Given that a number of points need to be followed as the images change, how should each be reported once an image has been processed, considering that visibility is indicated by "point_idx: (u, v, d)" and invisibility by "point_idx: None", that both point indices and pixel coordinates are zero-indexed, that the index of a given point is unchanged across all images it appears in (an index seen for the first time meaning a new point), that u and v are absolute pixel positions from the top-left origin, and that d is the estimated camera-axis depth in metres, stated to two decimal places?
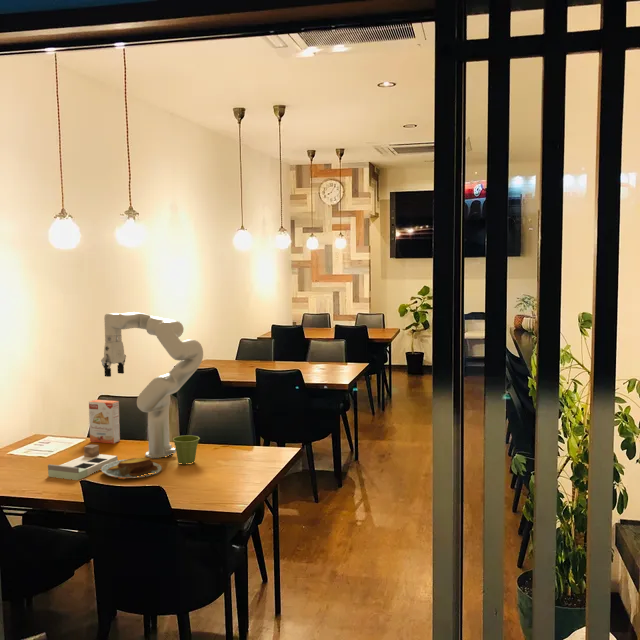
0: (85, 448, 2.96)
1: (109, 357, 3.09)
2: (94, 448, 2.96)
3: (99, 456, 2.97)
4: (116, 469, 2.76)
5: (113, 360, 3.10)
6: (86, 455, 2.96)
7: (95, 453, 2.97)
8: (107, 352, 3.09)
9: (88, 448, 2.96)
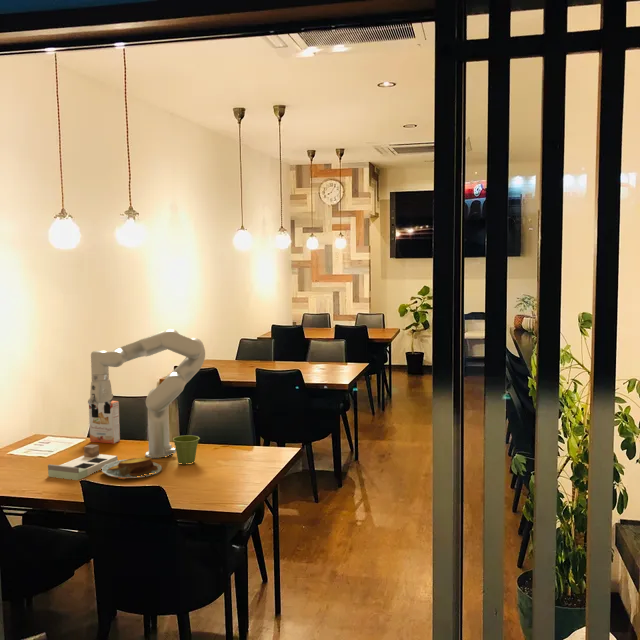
0: (85, 448, 2.96)
1: (95, 398, 2.98)
2: (94, 448, 2.96)
3: (99, 456, 2.97)
4: (116, 469, 2.76)
5: (100, 400, 2.99)
6: (86, 455, 2.96)
7: (95, 453, 2.97)
8: (93, 391, 2.98)
9: (88, 448, 2.96)
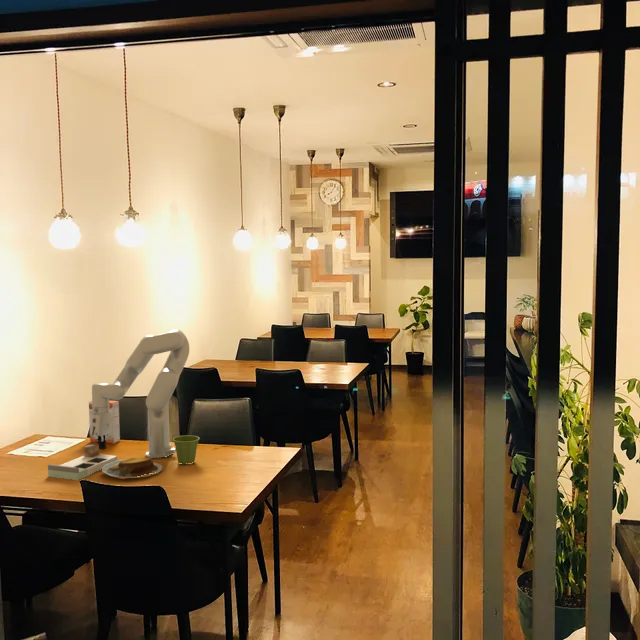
0: (85, 448, 2.96)
1: (98, 434, 3.00)
2: (94, 448, 2.96)
3: (99, 456, 2.97)
4: (116, 469, 2.76)
5: (101, 432, 3.00)
6: (86, 455, 2.96)
7: (95, 453, 2.97)
8: (94, 424, 2.99)
9: (88, 448, 2.96)
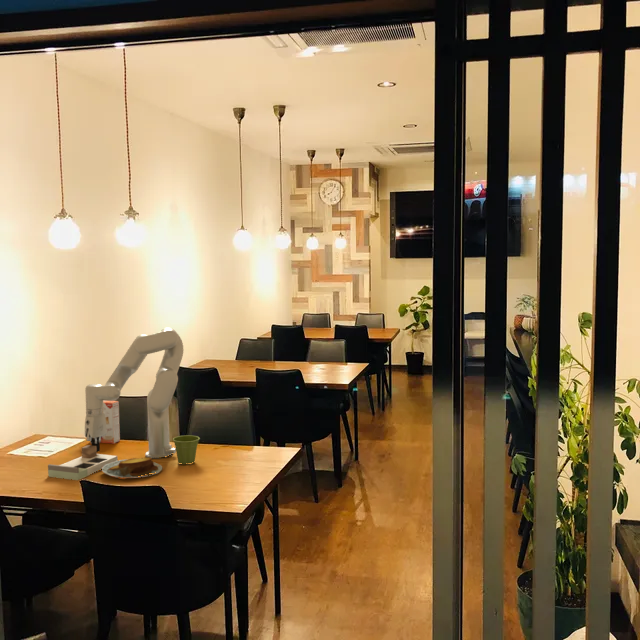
0: (83, 449, 2.95)
1: (91, 436, 2.96)
2: (92, 449, 2.95)
3: (99, 456, 2.97)
4: (116, 469, 2.76)
5: (94, 434, 2.96)
6: (83, 456, 2.95)
7: (93, 454, 2.96)
8: (88, 426, 2.95)
9: (86, 449, 2.94)
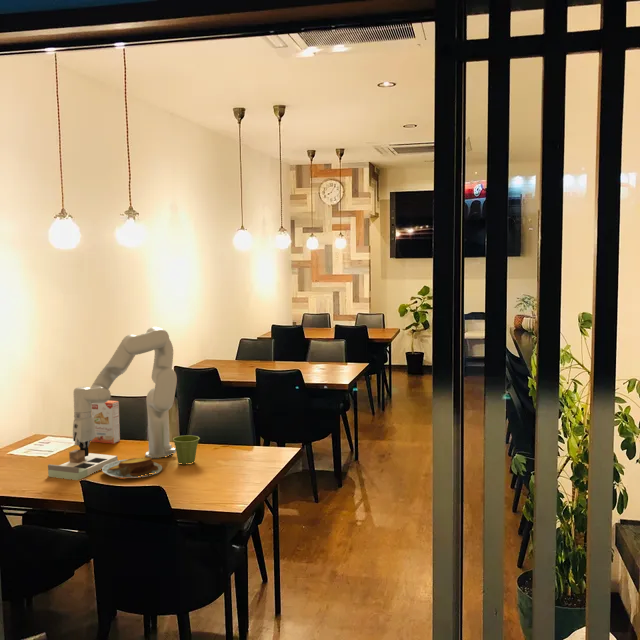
0: (70, 453, 2.88)
1: (79, 440, 2.89)
2: (80, 453, 2.88)
3: (99, 456, 2.97)
4: (117, 469, 2.76)
5: (82, 438, 2.89)
6: (71, 460, 2.88)
7: (81, 458, 2.89)
8: (76, 430, 2.88)
9: (73, 453, 2.87)
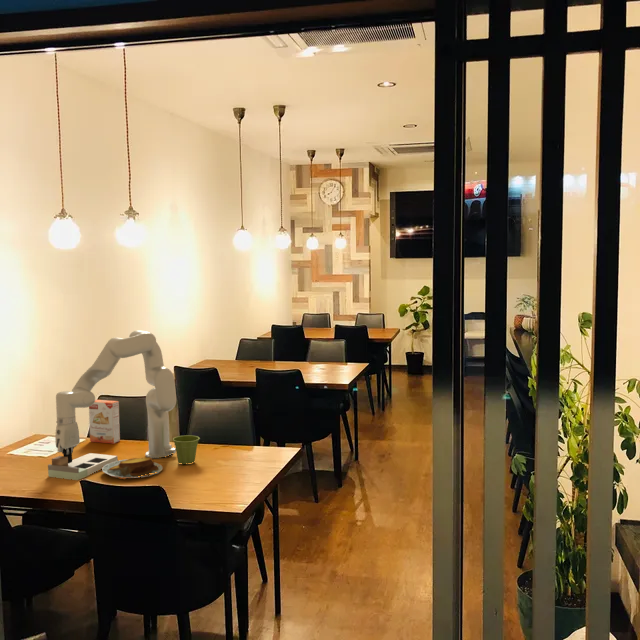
0: (53, 460, 2.78)
1: None
2: (62, 460, 2.78)
3: (99, 456, 2.97)
4: (117, 469, 2.76)
5: (65, 445, 2.79)
6: None
7: (64, 465, 2.79)
8: (59, 436, 2.78)
9: (56, 460, 2.77)
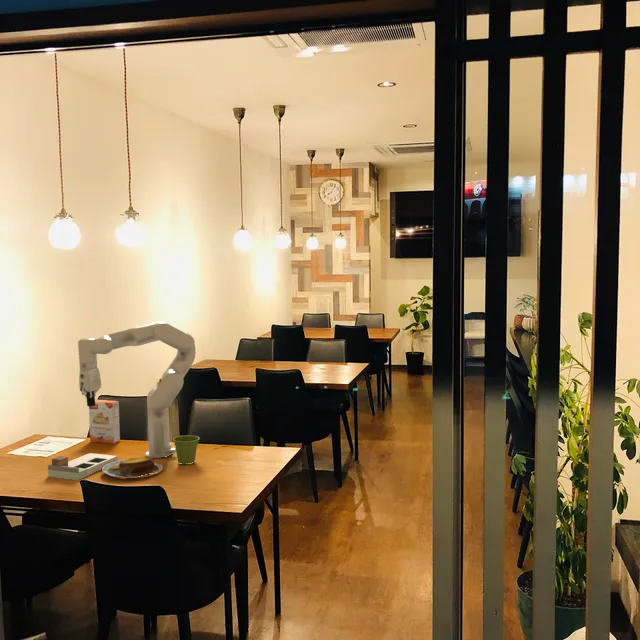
0: (53, 460, 2.78)
1: (86, 390, 2.94)
2: (62, 460, 2.78)
3: (99, 456, 2.97)
4: (117, 469, 2.76)
5: (89, 388, 2.94)
6: None
7: (64, 465, 2.79)
8: (82, 380, 2.93)
9: (56, 460, 2.77)
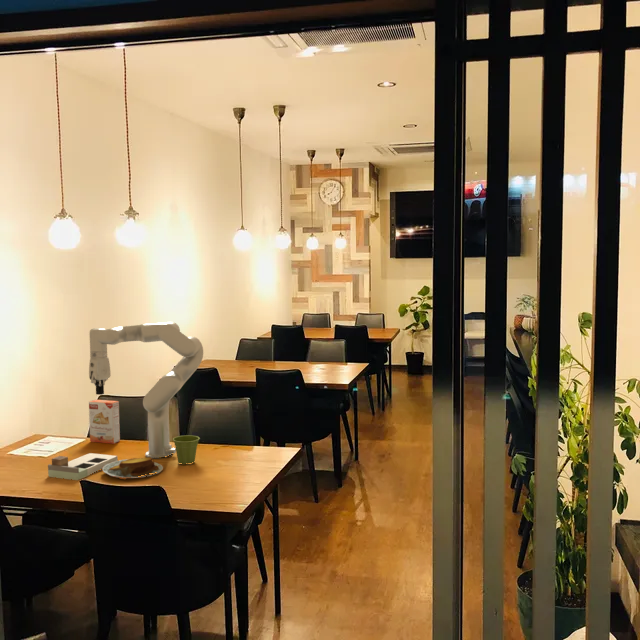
0: (53, 460, 2.78)
1: (95, 379, 3.02)
2: (62, 460, 2.78)
3: (99, 456, 2.97)
4: (117, 469, 2.76)
5: (98, 377, 3.02)
6: None
7: (64, 465, 2.79)
8: (92, 368, 3.01)
9: (56, 460, 2.77)
